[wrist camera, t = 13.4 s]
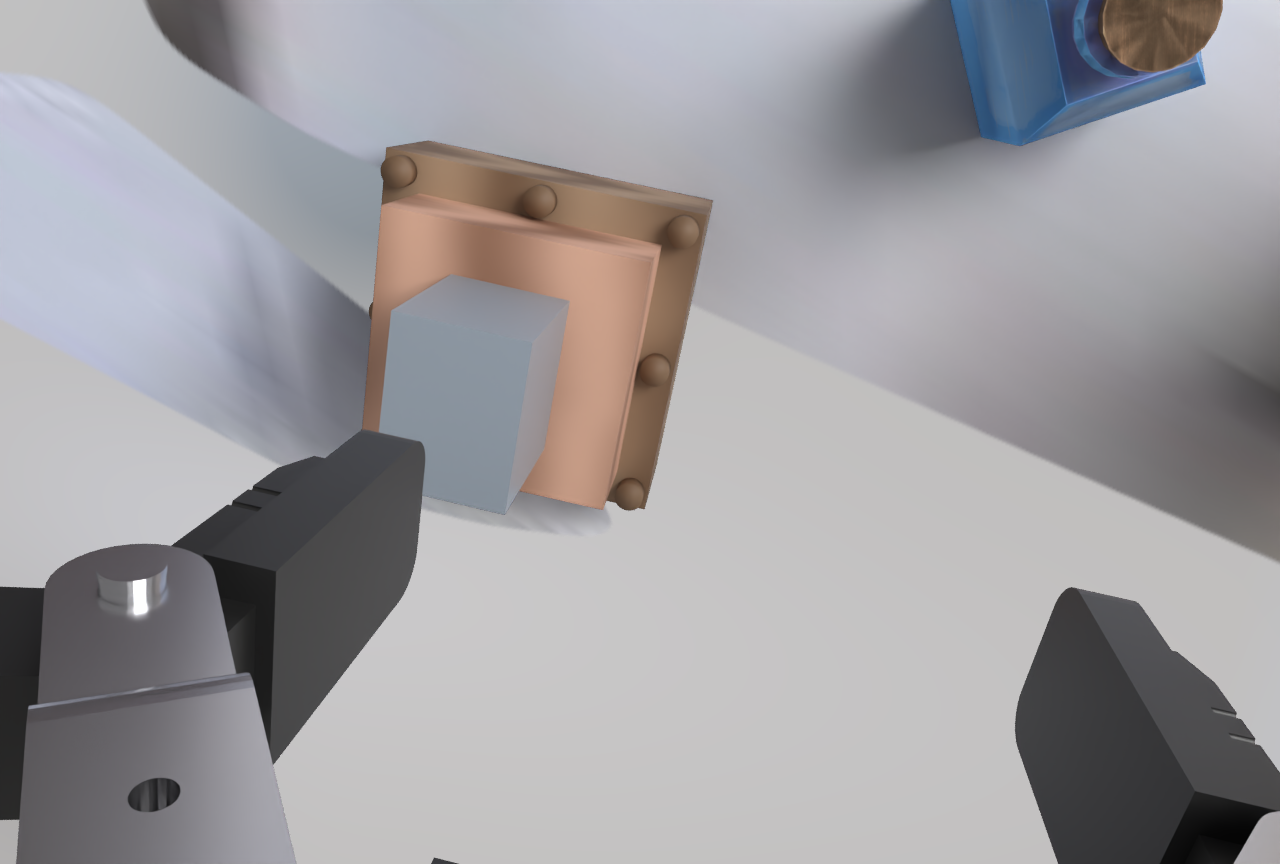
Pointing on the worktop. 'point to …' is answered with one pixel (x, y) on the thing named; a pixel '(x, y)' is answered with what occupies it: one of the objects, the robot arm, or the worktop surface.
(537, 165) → the brown studded stepped block
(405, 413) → the grey brick
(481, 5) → the worktop surface
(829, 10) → the worktop surface
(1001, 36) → the perfume bottle
